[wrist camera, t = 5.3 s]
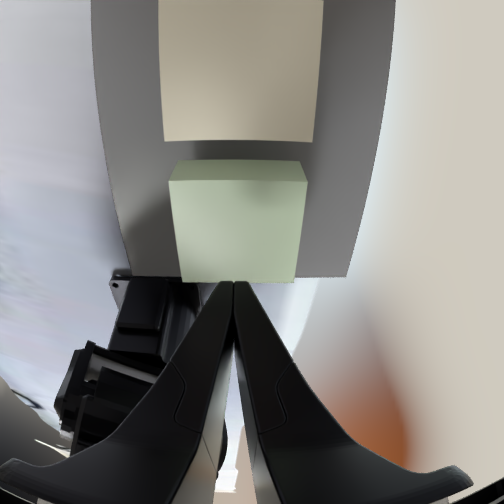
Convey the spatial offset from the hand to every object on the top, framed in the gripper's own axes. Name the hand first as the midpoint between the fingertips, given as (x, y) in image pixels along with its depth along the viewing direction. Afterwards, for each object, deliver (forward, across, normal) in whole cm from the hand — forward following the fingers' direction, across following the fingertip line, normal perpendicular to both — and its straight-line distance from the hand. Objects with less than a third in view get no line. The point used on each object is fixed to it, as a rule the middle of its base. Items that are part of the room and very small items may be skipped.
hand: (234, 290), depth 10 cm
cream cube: (+7, 0, -6) cm, 10 cm away
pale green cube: (+7, 0, 0) cm, 7 cm away
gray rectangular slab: (+9, 0, -6) cm, 11 cm away
